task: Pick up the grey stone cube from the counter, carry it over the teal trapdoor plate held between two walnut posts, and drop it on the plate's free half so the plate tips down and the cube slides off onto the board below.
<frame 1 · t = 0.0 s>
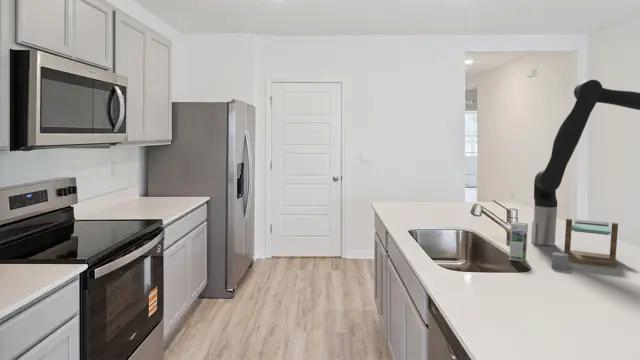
syrup box: (517, 260, 185), on the countertop
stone: (559, 267, 174), on the countertop
trapdoor: (590, 229, 188), point 11 cm above the countertop, hinge at 0.0°
frame: (589, 256, 192), on the countertop
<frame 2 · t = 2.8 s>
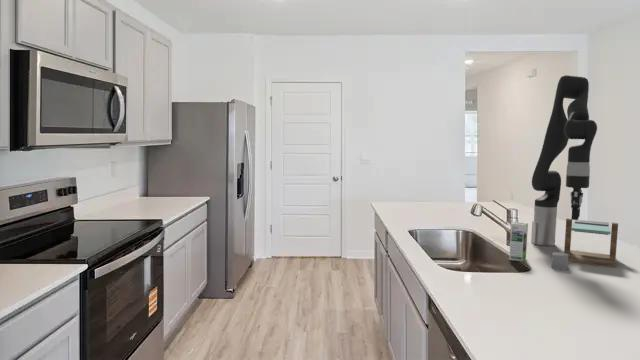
hand: (575, 218, 175), 18 cm above the countertop, tool pointing down, fingers open, 8 cm apart
nothing on the countertop moved.
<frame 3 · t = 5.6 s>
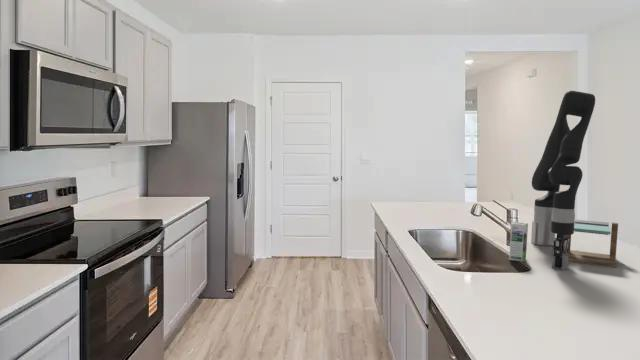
hand: (560, 265, 174), 1 cm above the countertop, tool pointing down, fingers closed on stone, 5 cm apart
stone: (559, 267, 174), on the countertop, touching gripper
everything else where it was.
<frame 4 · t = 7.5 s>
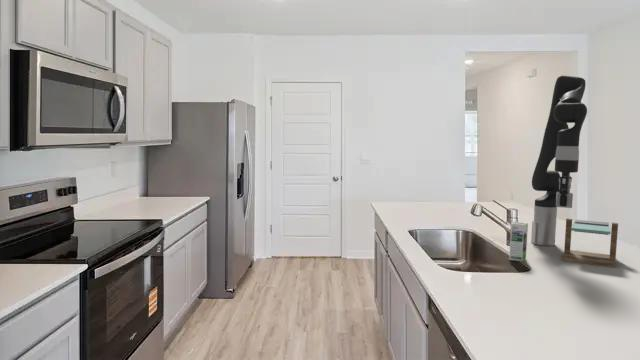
hand: (563, 204, 173), 23 cm above the countertop, tool pointing down, fingers closed on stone, 5 cm apart
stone: (563, 206, 173), point 22 cm above the countertop, touching gripper
everything else where it was.
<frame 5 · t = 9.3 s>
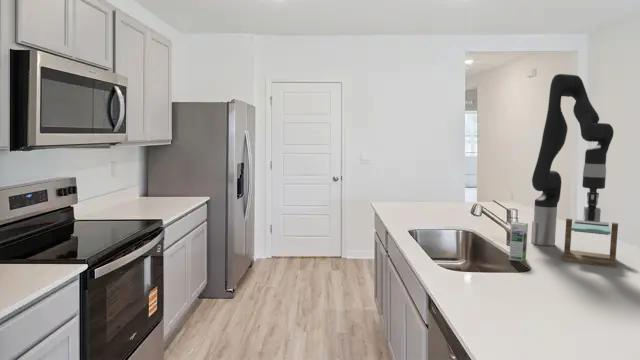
hand: (591, 219, 182), 17 cm above the countertop, tool pointing down, fingers closed on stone, 5 cm apart
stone: (591, 220, 182), point 16 cm above the countertop, touching gripper
everything else where it was.
when the fingers open (16 cm above the countertop, at t = 9.7 s): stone drops 11 cm and tips over, point 5 cm above the countertop.
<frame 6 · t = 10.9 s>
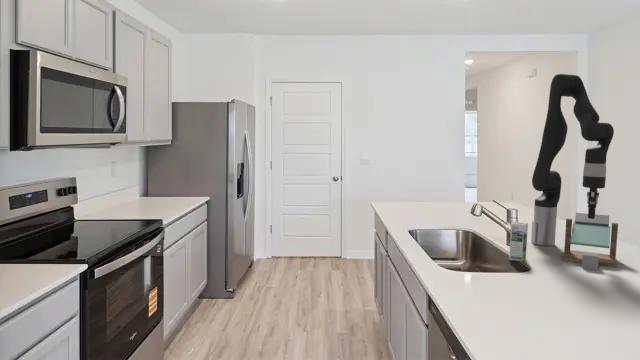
hand: (591, 217, 182), 17 cm above the countertop, tool pointing down, fingers open, 8 cm apart
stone: (590, 254, 174), point 5 cm above the countertop, tilted 180°
trapdoor: (590, 232, 189), point 10 cm above the countertop, hinge at -25.6°
everything else where it was.
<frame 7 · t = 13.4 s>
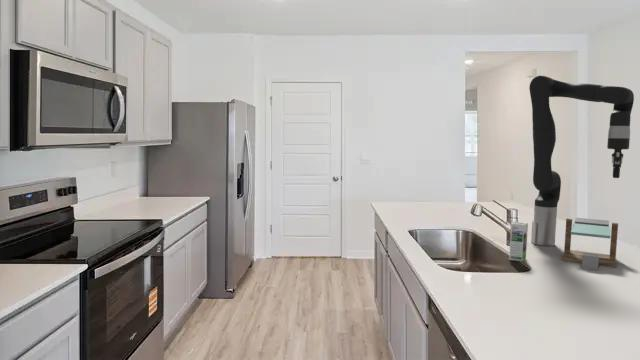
hand: (615, 177, 193), 32 cm above the countertop, tool pointing down, fingers open, 8 cm apart
trapdoor: (590, 230, 188), point 11 cm above the countertop, hinge at -6.9°
everything else where it was.
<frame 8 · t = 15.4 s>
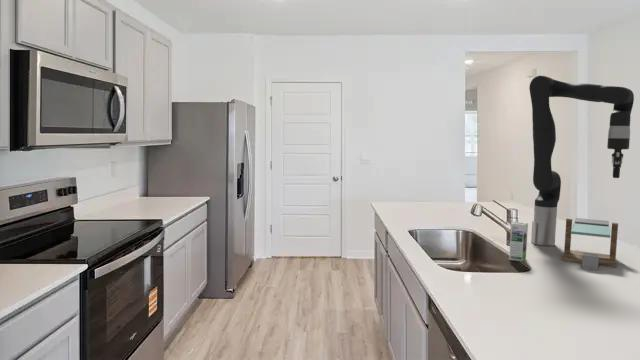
hand: (615, 177, 193), 32 cm above the countertop, tool pointing down, fingers open, 8 cm apart
trapdoor: (590, 230, 188), point 11 cm above the countertop, hinge at -5.8°
everything else where it was.
at the end: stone point 4.9 cm above the countertop; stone 19.5 cm from the frame (horizontally); the gripper is holding nothing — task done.
